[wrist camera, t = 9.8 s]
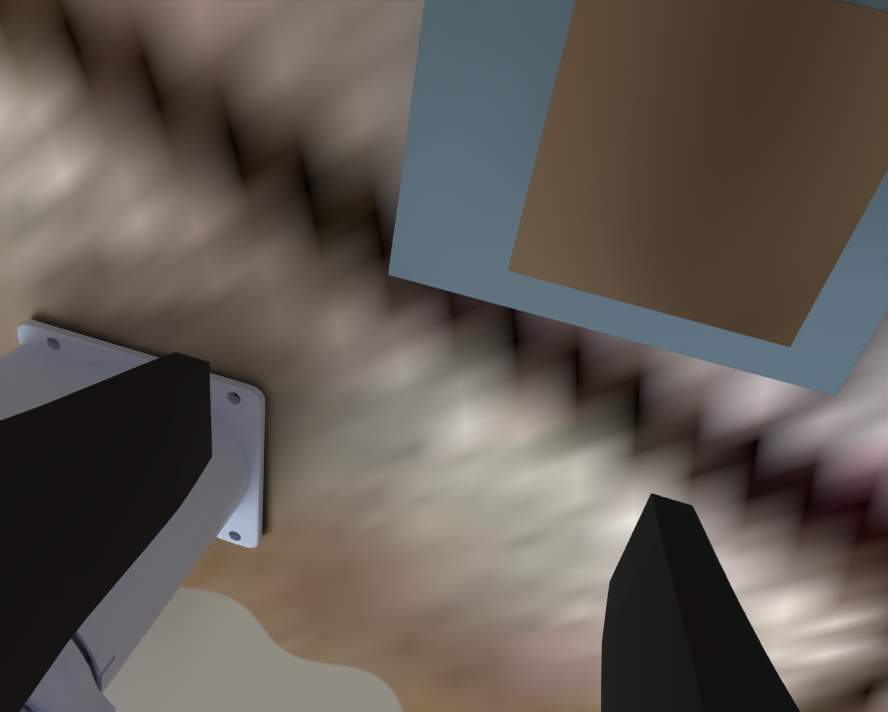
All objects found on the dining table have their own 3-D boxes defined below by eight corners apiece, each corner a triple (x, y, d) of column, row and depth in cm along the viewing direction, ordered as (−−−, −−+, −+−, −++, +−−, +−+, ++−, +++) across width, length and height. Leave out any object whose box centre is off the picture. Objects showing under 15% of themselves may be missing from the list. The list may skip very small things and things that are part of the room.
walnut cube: (541, 189, 16) (507, 270, 12) (604, -50, 13) (588, -51, 9) (749, 242, 16) (790, 347, 11) (859, 4, 13) (964, 28, 9)
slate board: (401, 258, 19) (388, 274, 18) (482, -305, 13) (469, -329, 12) (824, 370, 18) (835, 395, 17) (1159, -199, 11) (1208, -213, 10)
